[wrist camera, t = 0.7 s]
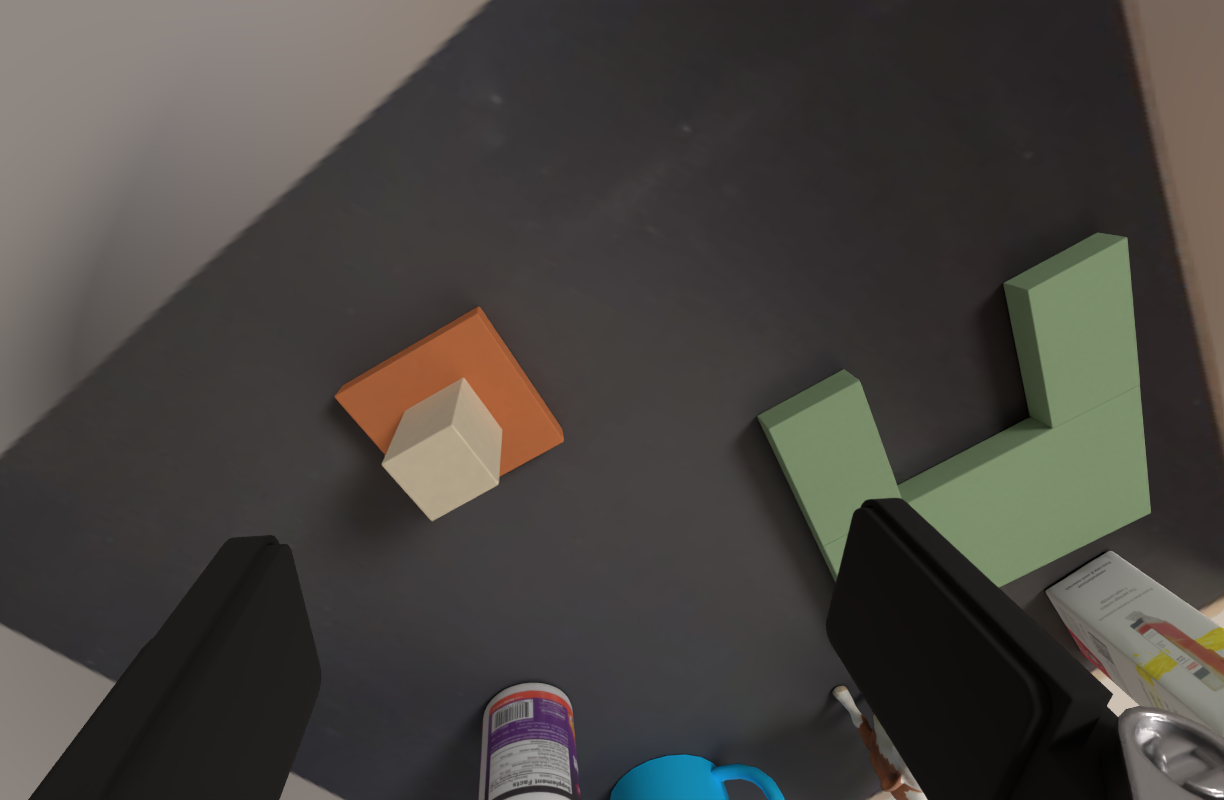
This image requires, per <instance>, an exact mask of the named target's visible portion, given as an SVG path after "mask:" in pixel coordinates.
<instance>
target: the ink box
mask: <svg viewBox="0 0 1224 800" xmlns="http://www.w3.org/2000/svg"><path fill="white" fill-rule="evenodd" d="M1045 592H1046V594H1047V596H1048V597H1049V599H1050V601H1051V602H1052V604H1053V606H1054V607H1055V609H1056V610H1057V612H1058V614H1059V616H1060V617H1061V619H1062V620H1063V622H1064V624H1065V625H1066V627H1067V629H1068V631H1069V632H1070V634H1071V636H1072V637H1073V639H1074V640H1075V642H1076V644H1077V646H1078V647H1079V649H1080V651H1081V652H1082V654H1083V655H1084V656H1085V657H1086V658H1087V659H1089V660H1090V661H1091V662H1092V663H1093V664H1094V665H1095V666H1096V667H1098V668H1099V669H1100V670H1101V671H1102V672H1103V673H1104V674H1105V675H1106V676H1107V677H1109V678H1110V679H1111V680H1112V681H1113V682H1114V683H1115V684H1116V685H1117V686H1119V687H1120V688H1121V689H1122V690H1123V691H1124V692H1125V693H1126V694H1127V695H1129V696H1130V697H1131V698H1132V699H1133V700H1134V701H1135V702H1136V703H1138V704H1139V705H1140V706H1144V707H1155V708H1160V709H1163V710H1167V711H1170V712H1174V713H1177V714H1180V715H1182V716H1184V717H1186V718H1189V719H1191V720H1193V721H1195V722H1197V723H1200V724H1202V725H1204V726H1205V727H1207V728H1209V729H1210V730H1212V731H1214V732H1215V733H1217V734H1218V735H1220V736H1222V737H1223V738H1224V628H1222V627H1221V626H1220V625H1218V624H1217V623H1215V622H1214V621H1212V620H1211V619H1209V618H1208V617H1207V616H1205V615H1204V614H1202V613H1201V612H1199V611H1198V610H1196V609H1195V608H1193V607H1192V606H1190V605H1189V604H1188V603H1186V602H1185V601H1183V600H1182V599H1180V598H1179V597H1177V596H1176V595H1175V594H1173V593H1172V592H1170V591H1169V590H1167V589H1166V588H1164V587H1163V586H1162V585H1160V584H1159V583H1157V582H1156V581H1154V580H1153V579H1151V578H1150V577H1149V576H1147V575H1146V574H1144V573H1143V572H1141V571H1140V570H1138V569H1137V568H1136V567H1134V566H1133V565H1131V564H1130V563H1128V562H1127V561H1125V560H1124V559H1123V558H1121V557H1120V556H1118V555H1117V554H1115V553H1114V552H1113V551H1108V552H1106V553H1105V554H1103V555H1101V556H1100V557H1098V558H1096V559H1095V560H1093V561H1091V562H1090V563H1088V564H1087V565H1085V566H1083V567H1082V568H1080V569H1079V570H1077V571H1076V572H1074V573H1073V574H1071V575H1069V576H1068V577H1066V578H1065V579H1063V580H1062V581H1060V582H1058V583H1057V584H1055V585H1054V586H1052V587H1050V588H1049V589H1047V590H1046V591H1045Z"/></svg>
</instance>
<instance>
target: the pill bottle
mask: <svg viewBox="0 0 1224 800" xmlns="http://www.w3.org/2000/svg"><path fill="white" fill-rule="evenodd" d="M478 800H581V795H580V785H579V775H578V765H577V754H576V743H575V732H574V720H573V712H572V706H571V703H570V701H569V699H568V697H567V696H566V695H565V694H564V693H563V692H562V691H561V690H559V689H558V688H556V687H553V686H551V685H548V684H543V683H523V684H518V685H515V686H511V687H509V688H507V689H505V690H503V691H501V692H500V693H498V694H497V695H496V696H495V697H494V698H493V699H492V700H491V701H490V703H489V704H488V706H487V707H486V710H485V713H484V718H483V726H482V739H481V756H480V773H479V788H478Z"/></svg>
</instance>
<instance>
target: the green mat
mask: <svg viewBox="0 0 1224 800" xmlns="http://www.w3.org/2000/svg"><path fill="white" fill-rule="evenodd" d="M1003 285H1004V290H1005V295H1006V300H1007V305H1008V310H1009V315H1010V320H1011V325H1012V330H1013V335H1014V340H1015V345H1016V350H1017V355H1018V360H1019V365H1020V370H1021V375H1022V380H1023V385H1024V390H1025V395H1026V400H1027V405H1028V410H1029V415H1030V417H1029V418H1027V419H1025V420H1023V421H1021V422H1019V423H1017V424H1015V425H1014V426H1012V427H1010V428H1008V429H1006V430H1004V431H1002V432H1000V433H998V434H996V435H994V436H992V437H990V438H988V439H986V440H984V441H983V442H981V443H979V444H977V445H975V446H973V447H971V448H969V449H967V450H965V451H963V452H961V453H959V454H957V455H955V456H953V457H951V458H950V459H948V460H946V461H944V462H942V463H940V464H938V465H936V466H934V467H932V468H930V469H928V470H926V471H924V472H922V473H920V474H918V475H917V476H915V477H913V478H911V479H909V480H907V481H905V482H903V483H901V484H899V485H897V484H896V481H895V478H894V475H893V473H892V470H891V467H890V464H889V461H888V459H887V456H886V453H885V450H884V447H883V445H882V442H881V439H880V436H879V433H878V430H877V428H876V425H875V422H874V419H873V416H872V414H871V411H870V408H869V405H868V402H867V400H866V397H865V394H864V391H863V388H862V386H861V383H860V381H859V380H858V379H857V378H855V377H854V376H852V375H851V374H850V373H848V372H847V371H845V370H841V371H840V372H838V373H836V374H834V375H832V376H830V377H828V378H827V379H825V380H823V381H821V382H819V383H817V384H815V385H814V386H812V387H810V388H808V389H806V390H804V391H802V392H801V393H799V394H797V395H795V396H793V397H791V398H789V399H788V400H786V401H784V402H782V403H780V404H778V405H776V406H775V407H773V408H771V409H769V410H767V411H765V412H763V413H762V414H760V415H758V416H757V418H758V420H759V422H760V424H761V426H762V428H763V430H764V432H765V435H766V437H767V439H768V441H769V443H770V445H771V447H772V449H773V452H774V454H775V456H776V458H777V460H778V462H779V464H780V466H781V468H782V471H783V473H784V475H785V477H786V479H787V481H788V483H789V485H790V488H791V490H792V492H793V494H794V496H795V498H796V500H797V502H798V504H799V507H800V509H801V511H802V513H803V515H804V517H805V519H806V521H807V524H808V526H809V528H810V530H811V532H812V534H813V536H814V538H815V540H816V542H817V545H818V547H819V549H820V551H821V553H822V555H823V557H824V559H825V562H826V564H827V566H828V568H829V570H830V572H831V574H832V576H833V578H834V581H835V583H836V580H837V576H838V572H839V568H840V564H841V560H842V556H843V552H844V548H845V544H846V540H847V536H848V532H849V528H850V524H851V520H852V516H853V513H854V511H855V510H856V509H858V508H860V507H861V505H862V503H863V502H864V501H865V500H868V499H881V498H901V499H903V500H904V501H906V502H907V503H908V504H909V505H910V506H911V507H912V508H913V509H914V510H916V511H917V512H918V513H919V514H920V515H921V516H922V517H923V518H924V519H925V520H926V521H927V522H928V523H930V524H931V525H932V526H933V527H934V528H935V529H936V530H937V531H938V532H939V533H940V534H941V535H942V536H944V537H945V538H946V539H947V540H948V541H949V542H950V543H951V544H952V545H953V546H954V547H955V548H956V549H958V550H959V551H960V552H961V553H962V554H963V555H964V556H965V557H966V558H967V559H968V560H969V561H970V562H972V563H973V564H974V565H975V566H976V567H977V568H978V569H979V570H980V571H981V572H982V573H983V574H984V575H986V576H987V577H988V578H989V579H990V580H991V581H992V582H993V583H994V584H995V585H996V586H997V587H998V588H999V587H1001V586H1003V585H1005V584H1007V583H1009V582H1011V581H1013V580H1015V579H1017V578H1019V577H1021V576H1023V575H1025V574H1027V573H1029V572H1031V571H1034V570H1036V569H1038V568H1040V567H1042V566H1044V565H1046V564H1048V563H1050V562H1052V561H1054V560H1056V559H1058V558H1060V557H1062V556H1064V555H1066V554H1068V553H1070V552H1072V551H1074V550H1076V549H1078V548H1080V547H1082V546H1084V545H1086V544H1088V543H1090V542H1093V541H1095V540H1097V539H1099V538H1101V537H1103V536H1105V535H1107V534H1109V533H1111V532H1113V531H1115V530H1117V529H1119V528H1121V527H1123V526H1125V525H1127V524H1129V523H1131V522H1133V521H1135V520H1137V519H1139V518H1141V517H1143V516H1145V515H1147V514H1150V513H1151V509H1150V497H1149V486H1148V475H1147V463H1146V452H1145V441H1144V429H1143V418H1142V407H1141V395H1140V385H1139V384H1140V378H1139V367H1138V356H1137V344H1136V333H1135V321H1134V310H1133V299H1132V287H1131V276H1130V264H1129V253H1128V241H1127V237H1122V236H1115V235H1109V234H1103V233H1095V234H1094V235H1092V236H1090V237H1088V238H1086V239H1084V240H1082V241H1081V242H1079V243H1077V244H1075V245H1073V246H1071V247H1069V248H1068V249H1066V250H1064V251H1062V252H1060V253H1058V254H1056V255H1055V256H1053V257H1051V258H1049V259H1047V260H1045V261H1043V262H1042V263H1040V264H1038V265H1036V266H1034V267H1032V268H1030V269H1029V270H1027V271H1025V272H1023V273H1021V274H1019V275H1018V276H1016V277H1014V278H1012V279H1010V280H1008V281H1006V282H1005V283H1003Z"/></svg>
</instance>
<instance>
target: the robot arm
mask: <svg viewBox="0 0 1224 800" xmlns="http://www.w3.org/2000/svg"><path fill="white" fill-rule="evenodd" d="M826 630H827V635H828V638H829V641H830V643H831V645H832V646H833V648H834V650H835V651H836V653H837V654H838V656H839V658H840V659H841V661H842V662H843V664H844V666H845V667H846V669H847V671H848V672H849V674H850V675H851V677H852V679H853V680H854V682H855V683H856V685H857V687H858V688H859V690H860V692H861V693H862V695H863V696H864V698H865V700H866V701H867V703H868V704H869V706H870V708H871V709H872V711H873V713H874V714H875V716H876V717H877V719H878V721H879V722H880V724H881V725H882V727H883V729H884V730H885V732H886V734H887V735H888V737H889V738H890V740H891V742H892V743H893V745H894V746H895V748H896V750H897V751H898V753H899V755H900V756H901V758H902V759H903V761H904V763H905V764H906V766H907V767H908V769H909V771H910V772H911V774H912V776H913V777H914V779H915V780H916V782H917V784H918V785H919V787H920V788H921V790H922V792H923V793H924V795H925V797H926V798H927V800H1224V738H1223V737H1222V736H1220V735H1218V734H1217V733H1215V732H1214V731H1212V730H1210V729H1209V728H1207V727H1205V726H1204V725H1202V724H1200V723H1197V722H1195V721H1193V720H1191V719H1189V718H1186V717H1184V716H1182V715H1180V714H1177V713H1174V712H1170V711H1167V710H1163V709H1160V708H1155V707H1144V706H1137V707H1133V708H1129V709H1126V710H1125V711H1124V712H1123V713H1122V714H1121V715H1120V716H1119V717H1117V716H1116V715H1115V714H1114V713H1113V712H1112V711H1111V710H1110V709H1109V708H1108V707H1107V704H1108V702H1109V701H1110V699H1111V697H1112V695H1113V694H1112V693H1111V692H1110V691H1109V690H1108V689H1107V688H1106V687H1105V686H1104V685H1103V684H1102V683H1101V682H1100V681H1098V680H1097V679H1096V678H1095V677H1094V676H1093V675H1092V674H1091V673H1090V672H1089V671H1088V670H1087V669H1086V668H1085V667H1083V666H1082V665H1081V664H1080V663H1079V662H1078V661H1077V660H1076V659H1075V658H1074V657H1073V656H1072V655H1071V654H1069V653H1068V652H1067V651H1066V650H1065V649H1064V648H1063V647H1062V646H1061V645H1060V644H1059V643H1058V642H1057V641H1055V640H1054V639H1053V638H1052V637H1051V636H1050V635H1049V634H1048V633H1047V632H1046V631H1045V630H1044V629H1043V628H1041V627H1040V626H1039V625H1038V624H1037V623H1036V622H1035V621H1034V620H1033V619H1032V618H1031V617H1030V616H1029V615H1027V614H1026V613H1025V612H1024V611H1023V610H1022V609H1021V608H1020V607H1019V606H1018V605H1017V604H1016V603H1015V602H1013V601H1012V600H1011V599H1010V598H1009V597H1008V596H1007V595H1006V594H1005V593H1004V592H1003V591H1002V590H1001V589H999V588H998V587H997V586H996V585H995V584H994V583H993V582H992V581H991V580H990V579H989V578H988V577H987V576H986V575H984V574H983V573H982V572H981V571H980V570H979V569H978V568H977V567H976V566H975V565H974V564H973V563H972V562H970V561H969V560H968V559H967V558H966V557H965V556H964V555H963V554H962V553H961V552H960V551H959V550H958V549H956V548H955V547H954V546H953V545H952V544H951V543H950V542H949V541H948V540H947V539H946V538H945V537H944V536H942V535H941V534H940V533H939V532H938V531H937V530H936V529H935V528H934V527H933V526H932V525H931V524H930V523H928V522H927V521H926V520H925V519H924V518H923V517H922V516H921V515H920V514H919V513H918V512H917V511H916V510H914V509H913V508H912V507H911V506H910V505H909V504H908V503H907V502H906V501H904V500H903V499H901V498H881V499H868V500H865V501H864V502H863V503H862V505H861V507H860V508H858V509H856V510H855V511H854V513H853V516H852V520H851V524H850V528H849V532H848V536H847V540H846V544H845V548H844V552H843V556H842V560H841V564H840V568H839V572H838V576H837V580H836V584H835V588H834V592H833V597H832V601H831V605H830V609H829V613H828V617H827V621H826ZM320 685H321V667H320V663H319V659H318V655H317V651H316V647H315V643H314V639H313V635H312V631H311V627H310V623H309V619H308V615H307V611H306V607H305V603H304V599H303V595H302V591H301V587H300V583H299V579H298V575H297V571H296V567H295V563H294V559H293V555H292V551H291V548H290V547H289V546H288V545H287V544H279V542H278V540H277V539H276V537H275V536H272V535H268V536H251V537H235V538H231V539H228V540H227V541H226V542H225V543H224V544H223V546H222V547H221V548H220V550H219V551H218V552H217V554H216V555H215V556H214V558H213V559H212V560H211V562H210V563H209V565H208V566H207V567H206V569H205V570H204V571H203V573H202V574H201V575H200V577H199V578H198V579H197V581H196V582H195V583H194V585H193V586H192V587H191V589H190V590H189V591H188V593H187V594H186V595H185V597H184V598H183V599H182V601H181V602H180V603H179V605H178V606H177V607H176V609H175V610H174V611H173V613H172V614H171V615H170V617H169V618H168V619H167V621H166V622H165V623H164V625H163V626H162V627H161V629H160V630H159V631H158V633H157V634H156V635H155V637H154V638H153V639H151V640H150V641H149V642H148V643H147V644H146V645H145V646H144V647H143V648H142V650H141V651H140V652H139V653H138V655H137V656H136V657H135V659H134V660H133V661H132V663H131V664H130V665H129V667H128V668H127V669H126V671H125V672H124V673H123V675H122V676H121V677H120V679H119V680H118V681H117V683H116V684H115V685H114V687H113V688H112V689H111V691H110V692H109V693H108V695H107V696H106V697H105V699H104V700H103V701H102V703H101V704H100V705H99V707H98V708H97V709H96V710H95V712H94V713H93V714H92V716H91V717H90V719H89V720H88V721H87V723H86V724H85V725H84V726H83V728H82V729H81V731H80V732H79V733H78V734H77V736H76V737H75V738H74V740H73V741H72V742H71V744H70V745H69V746H68V748H67V749H66V750H65V752H64V753H63V754H62V756H61V757H60V758H59V760H58V761H57V762H56V764H55V765H54V766H53V767H52V769H51V770H50V771H49V773H48V774H47V775H46V777H45V778H44V780H43V781H42V782H41V783H40V785H39V786H38V787H37V789H36V790H35V791H34V793H33V794H32V795H31V797H30V798H29V799H28V800H279V799H280V796H281V794H282V791H283V788H284V786H285V783H286V780H287V778H288V775H289V772H290V769H291V767H292V764H293V761H294V759H295V756H296V753H297V751H298V748H299V745H300V742H301V740H302V737H303V734H304V732H305V729H306V726H307V724H308V721H309V718H310V716H311V713H312V710H313V707H314V705H315V702H316V699H317V697H318V694H319V690H320Z"/></svg>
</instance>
